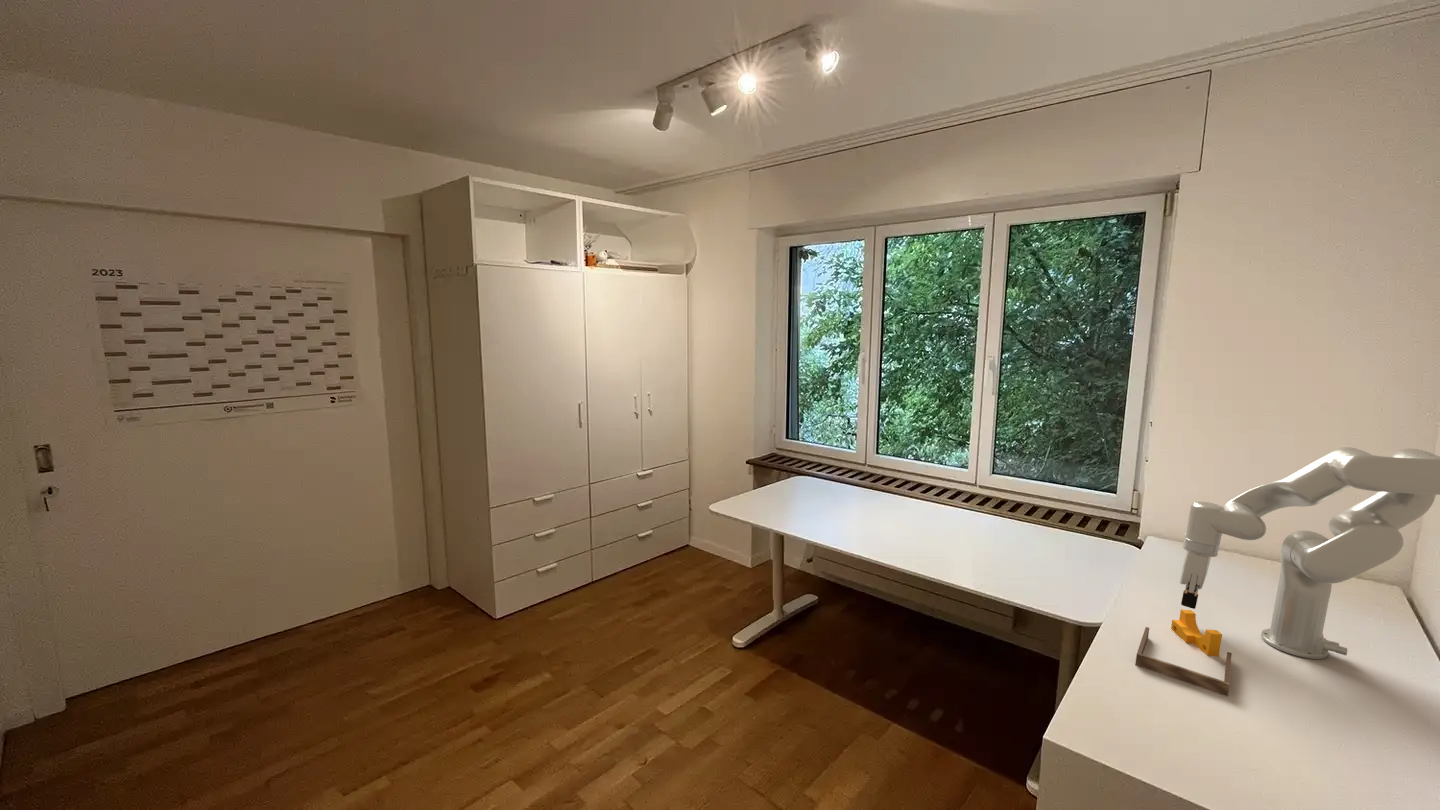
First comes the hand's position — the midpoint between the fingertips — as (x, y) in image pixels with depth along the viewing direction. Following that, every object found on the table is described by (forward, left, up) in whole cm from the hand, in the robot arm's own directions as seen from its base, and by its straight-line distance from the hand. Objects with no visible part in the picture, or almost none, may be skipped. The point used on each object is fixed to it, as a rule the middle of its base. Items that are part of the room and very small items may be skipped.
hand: (1188, 605), depth 162 cm
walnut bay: (-1, +25, -5) cm, 25 cm away
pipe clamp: (-2, +11, -6) cm, 13 cm away
